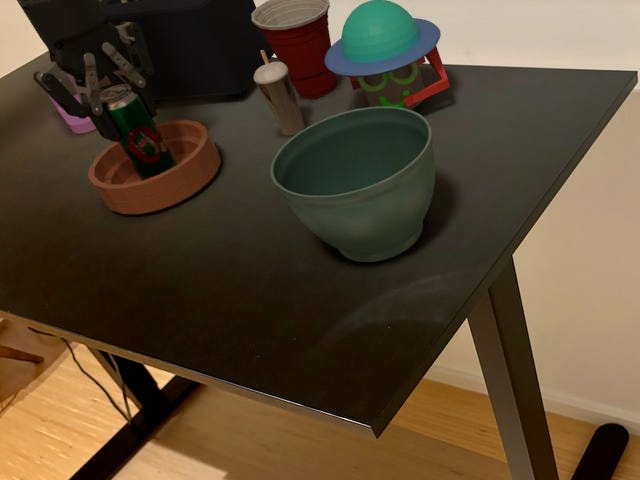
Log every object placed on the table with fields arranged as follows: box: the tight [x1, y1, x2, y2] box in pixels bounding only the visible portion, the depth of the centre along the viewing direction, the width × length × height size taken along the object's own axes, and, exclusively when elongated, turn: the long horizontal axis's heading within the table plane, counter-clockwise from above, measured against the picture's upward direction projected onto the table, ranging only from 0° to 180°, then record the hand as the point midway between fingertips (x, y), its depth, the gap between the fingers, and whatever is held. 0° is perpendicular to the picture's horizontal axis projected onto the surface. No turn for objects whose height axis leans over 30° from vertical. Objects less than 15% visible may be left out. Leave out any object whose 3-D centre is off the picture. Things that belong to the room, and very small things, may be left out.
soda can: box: [100, 84, 178, 181], centre depth 91 cm, size 5×5×12 cm
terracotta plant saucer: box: [87, 119, 222, 215], centre depth 94 cm, size 16×16×4 cm
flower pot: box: [269, 106, 436, 263], centre depth 74 cm, size 16×16×11 cm
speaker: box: [100, 0, 275, 101], centre depth 110 cm, size 22×13×15 cm, turn 77°
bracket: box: [40, 70, 97, 134], centre depth 113 cm, size 13×6×7 cm, turn 36°
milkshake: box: [253, 50, 306, 137], centre depth 96 cm, size 4×5×10 cm
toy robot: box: [325, 0, 451, 111], centre depth 92 cm, size 15×15×14 cm
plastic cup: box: [251, 0, 338, 100], centre depth 102 cm, size 11×11×12 cm
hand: (133, 127), depth 90 cm, fingers closed on soda can, 5 cm apart
